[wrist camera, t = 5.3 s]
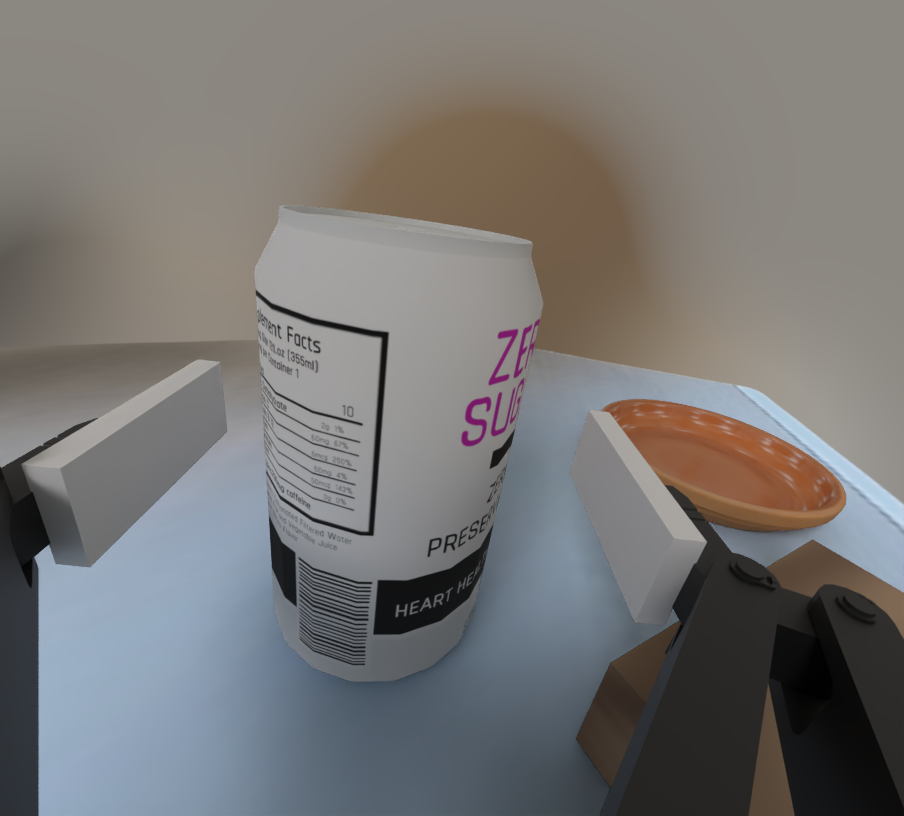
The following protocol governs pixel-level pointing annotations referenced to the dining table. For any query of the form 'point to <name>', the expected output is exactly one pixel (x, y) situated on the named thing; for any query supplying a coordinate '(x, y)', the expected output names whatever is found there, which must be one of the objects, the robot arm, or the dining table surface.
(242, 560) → the dining table surface
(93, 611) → the dining table surface
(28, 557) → the robot arm
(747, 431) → the saucer
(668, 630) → the podium
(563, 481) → the dining table surface
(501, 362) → the supplement can
